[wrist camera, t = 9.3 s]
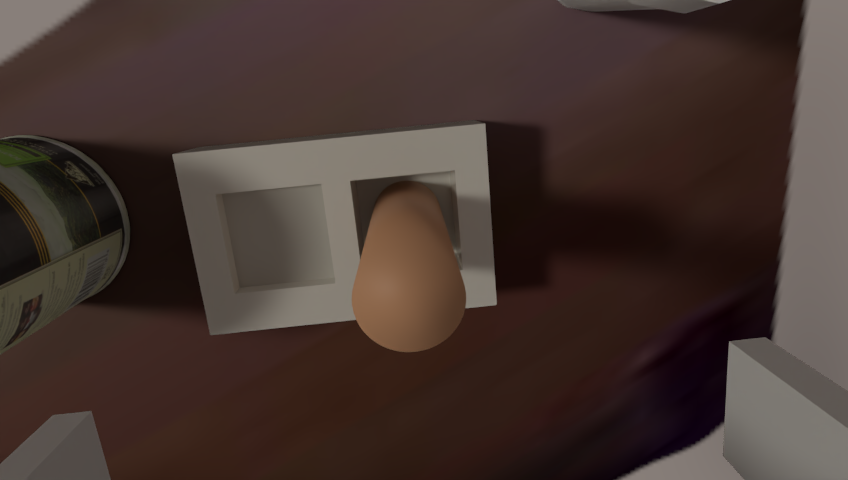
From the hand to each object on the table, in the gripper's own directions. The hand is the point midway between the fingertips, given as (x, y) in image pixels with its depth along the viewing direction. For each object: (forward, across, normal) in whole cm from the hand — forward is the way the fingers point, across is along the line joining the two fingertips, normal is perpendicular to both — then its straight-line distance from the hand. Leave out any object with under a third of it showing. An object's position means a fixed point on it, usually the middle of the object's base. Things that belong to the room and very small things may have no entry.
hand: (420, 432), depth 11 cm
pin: (+22, 0, 0) cm, 22 cm away
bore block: (+22, -3, 0) cm, 23 cm away
